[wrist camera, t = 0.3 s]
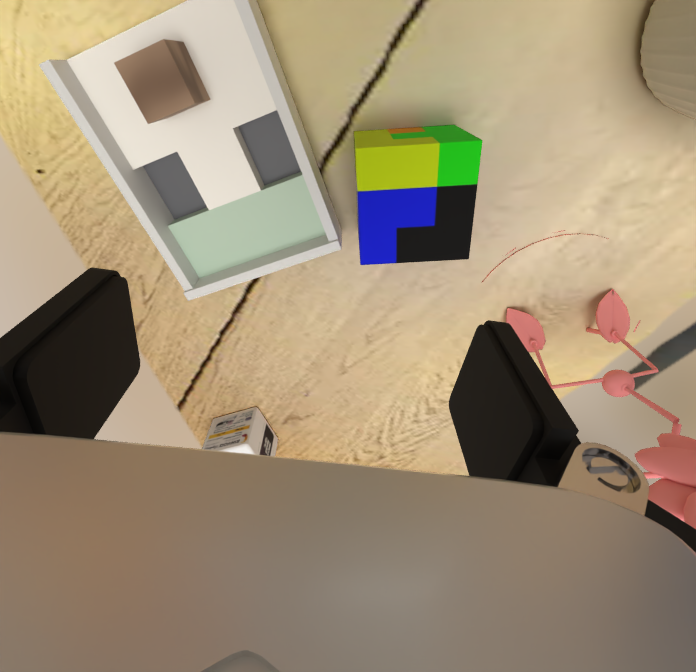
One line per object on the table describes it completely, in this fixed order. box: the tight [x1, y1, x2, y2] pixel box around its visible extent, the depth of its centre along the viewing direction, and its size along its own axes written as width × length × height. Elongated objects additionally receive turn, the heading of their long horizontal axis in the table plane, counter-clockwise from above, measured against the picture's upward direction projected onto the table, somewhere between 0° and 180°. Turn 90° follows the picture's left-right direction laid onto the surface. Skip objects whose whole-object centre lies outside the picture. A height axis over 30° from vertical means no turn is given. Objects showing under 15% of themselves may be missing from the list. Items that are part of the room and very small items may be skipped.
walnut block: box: [114, 39, 211, 124], centre depth 34 cm, size 4×4×4 cm
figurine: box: [482, 230, 696, 529], centre depth 36 cm, size 15×26×35 cm, turn 99°
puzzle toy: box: [354, 125, 482, 265], centre depth 39 cm, size 10×10×10 cm
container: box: [202, 407, 278, 456], centre depth 58 cm, size 8×8×13 cm
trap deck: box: [39, 0, 342, 301], centre depth 39 cm, size 23×18×6 cm
